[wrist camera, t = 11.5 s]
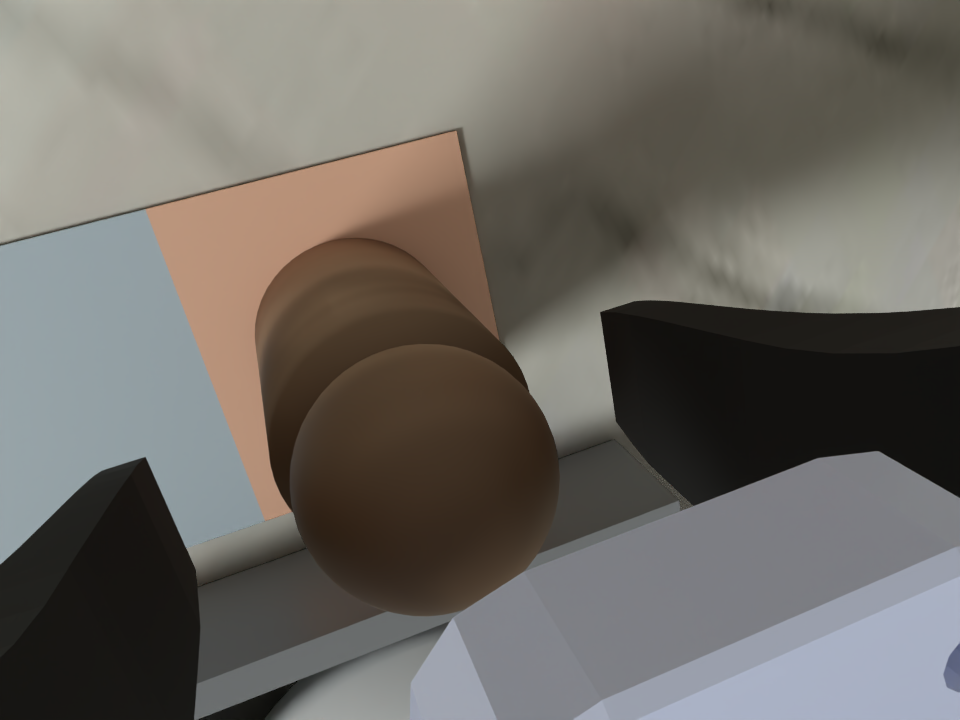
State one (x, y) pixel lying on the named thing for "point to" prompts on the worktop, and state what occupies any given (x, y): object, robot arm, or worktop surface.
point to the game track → (194, 330)
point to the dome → (361, 684)
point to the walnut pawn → (400, 431)
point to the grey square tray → (363, 628)
